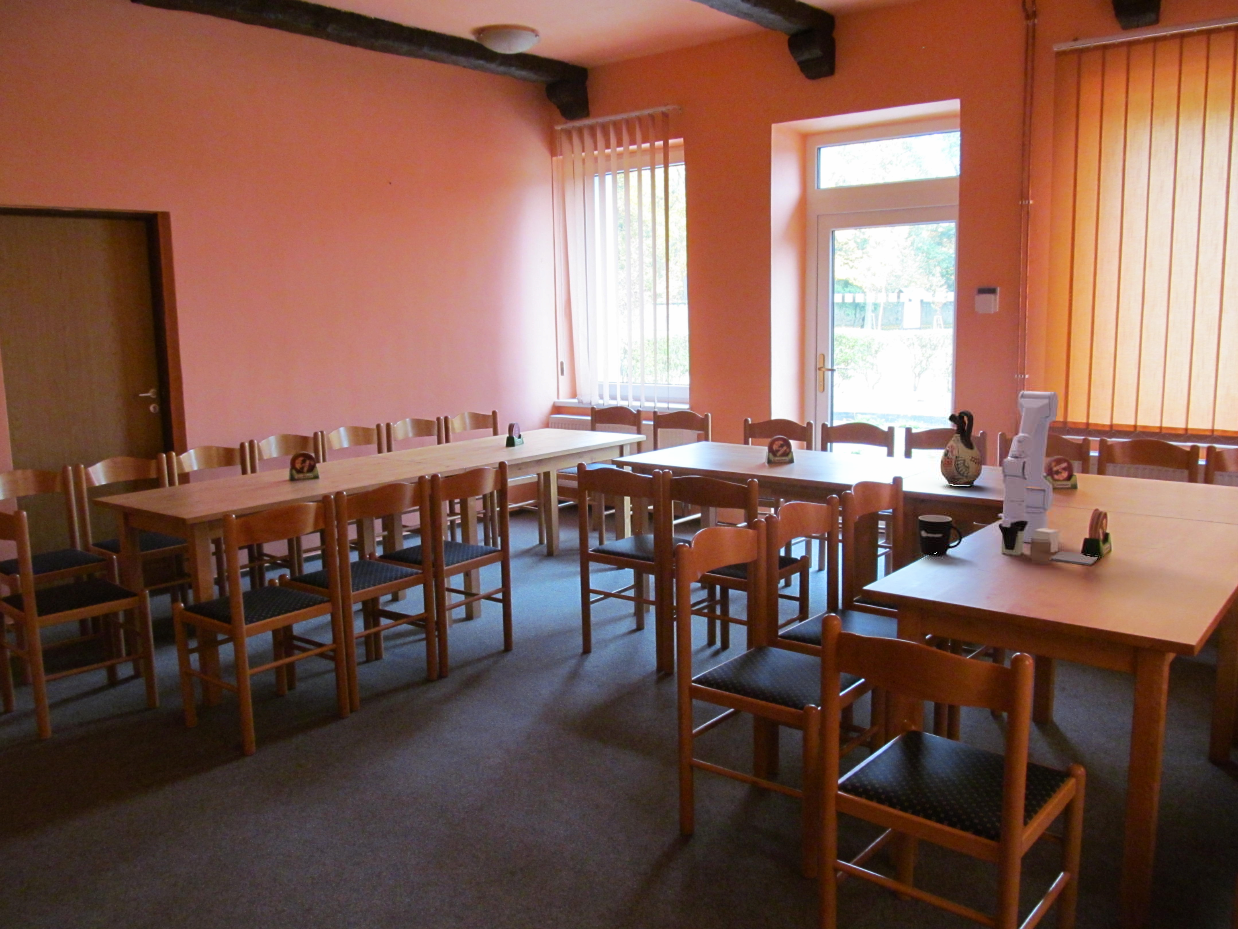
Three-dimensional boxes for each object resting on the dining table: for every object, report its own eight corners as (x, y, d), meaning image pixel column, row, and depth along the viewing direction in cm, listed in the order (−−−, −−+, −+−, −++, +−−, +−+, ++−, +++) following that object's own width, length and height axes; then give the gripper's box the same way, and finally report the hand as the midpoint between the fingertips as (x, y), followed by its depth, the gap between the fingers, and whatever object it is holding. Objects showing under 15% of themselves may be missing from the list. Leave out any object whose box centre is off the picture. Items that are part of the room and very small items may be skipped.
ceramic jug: (931, 483, 390) (934, 408, 385) (964, 481, 394) (967, 407, 390) (958, 490, 374) (961, 412, 369) (992, 488, 378) (995, 410, 374)
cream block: (1042, 548, 281) (1043, 527, 280) (1057, 551, 278) (1058, 530, 277) (1034, 550, 278) (1035, 529, 278) (1049, 553, 275) (1050, 532, 274)
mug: (912, 554, 275) (914, 519, 274) (922, 548, 282) (923, 513, 281) (956, 560, 268) (958, 523, 267) (965, 553, 276) (966, 518, 274)
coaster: (1060, 553, 275) (1060, 551, 275) (1099, 558, 269) (1099, 556, 269) (1050, 560, 267) (1050, 558, 267) (1090, 565, 261) (1090, 563, 261)
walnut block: (1030, 559, 269) (1031, 537, 268) (1047, 560, 267) (1049, 538, 266) (1031, 563, 264) (1032, 541, 264) (1049, 564, 263) (1051, 542, 262)
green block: (1006, 550, 279) (1007, 529, 278) (1022, 552, 276) (1023, 531, 276) (1001, 553, 276) (1002, 532, 275) (1018, 555, 273) (1019, 534, 272)
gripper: (1007, 494, 282) (1005, 541, 284) (991, 502, 271) (989, 550, 272) (1033, 497, 278) (1030, 544, 280) (1018, 505, 266) (1015, 554, 268)
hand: (1012, 547), depth 276 cm, fingers closed on green block, 4 cm apart
